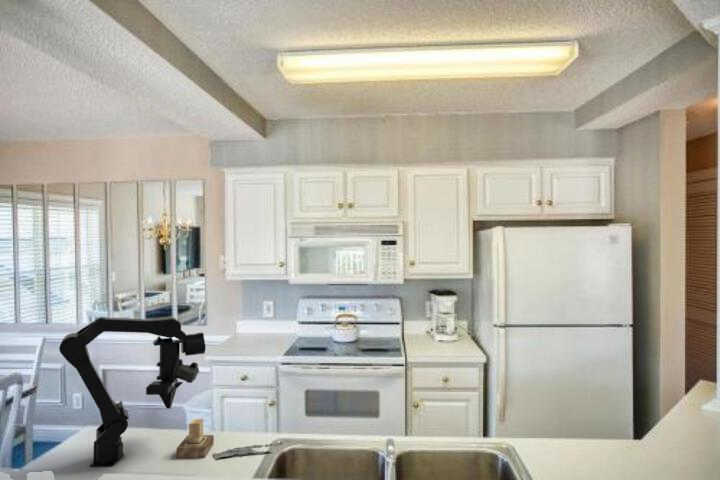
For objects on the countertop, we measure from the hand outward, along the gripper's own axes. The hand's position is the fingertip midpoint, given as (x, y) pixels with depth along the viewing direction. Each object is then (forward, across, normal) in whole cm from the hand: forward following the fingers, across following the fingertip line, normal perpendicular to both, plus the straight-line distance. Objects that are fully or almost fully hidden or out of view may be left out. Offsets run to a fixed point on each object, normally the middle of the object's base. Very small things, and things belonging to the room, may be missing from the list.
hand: (168, 408), depth 129 cm
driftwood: (+13, -4, -26) cm, 29 cm away
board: (+12, -3, -10) cm, 16 cm away
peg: (+12, -3, -10) cm, 16 cm away
